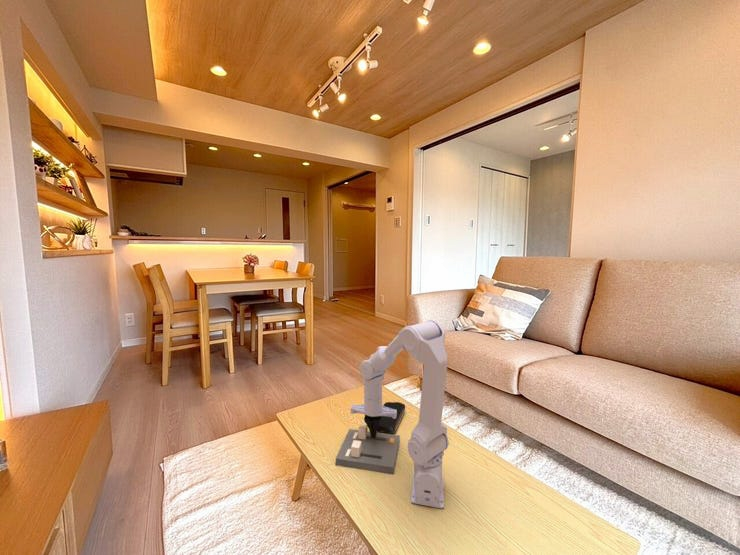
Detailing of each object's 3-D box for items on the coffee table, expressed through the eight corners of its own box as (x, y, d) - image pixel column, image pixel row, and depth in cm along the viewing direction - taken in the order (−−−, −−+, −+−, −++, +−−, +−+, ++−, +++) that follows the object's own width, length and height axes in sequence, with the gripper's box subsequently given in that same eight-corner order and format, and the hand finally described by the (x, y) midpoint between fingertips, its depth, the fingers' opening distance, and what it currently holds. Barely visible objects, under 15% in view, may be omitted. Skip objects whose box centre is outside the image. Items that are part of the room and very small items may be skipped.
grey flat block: (393, 474, 83) (393, 467, 82) (335, 464, 86) (335, 458, 86) (399, 441, 96) (399, 435, 96) (349, 434, 100) (349, 428, 100)
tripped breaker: (365, 439, 94) (365, 430, 94) (358, 438, 94) (357, 429, 94) (367, 433, 97) (367, 425, 96) (360, 432, 97) (360, 424, 97)
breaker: (359, 457, 86) (358, 448, 86) (351, 456, 87) (351, 446, 86) (361, 450, 89) (361, 441, 89) (354, 449, 90) (353, 440, 89)
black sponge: (393, 438, 98) (393, 428, 98) (370, 432, 101) (370, 422, 101) (406, 412, 113) (406, 403, 113) (385, 407, 116) (385, 399, 116)
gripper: (397, 391, 95) (398, 430, 97) (354, 387, 99) (355, 425, 100) (394, 403, 89) (395, 445, 90) (348, 398, 92) (349, 439, 93)
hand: (373, 435), depth 95 cm, fingers closed
